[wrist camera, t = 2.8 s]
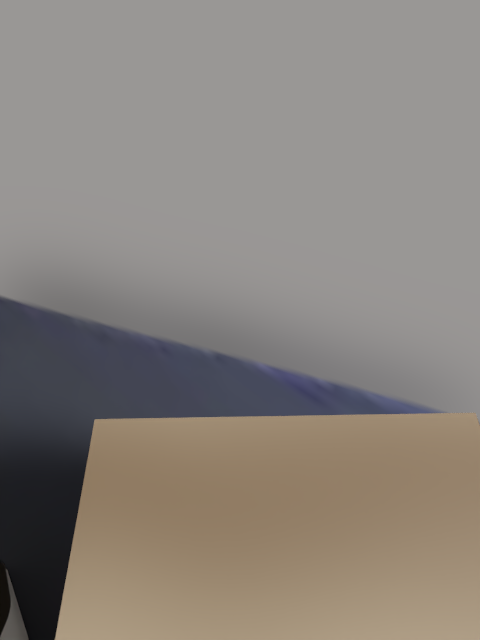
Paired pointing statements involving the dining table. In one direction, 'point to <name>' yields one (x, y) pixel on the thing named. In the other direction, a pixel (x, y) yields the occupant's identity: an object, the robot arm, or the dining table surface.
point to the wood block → (278, 529)
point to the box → (14, 619)
